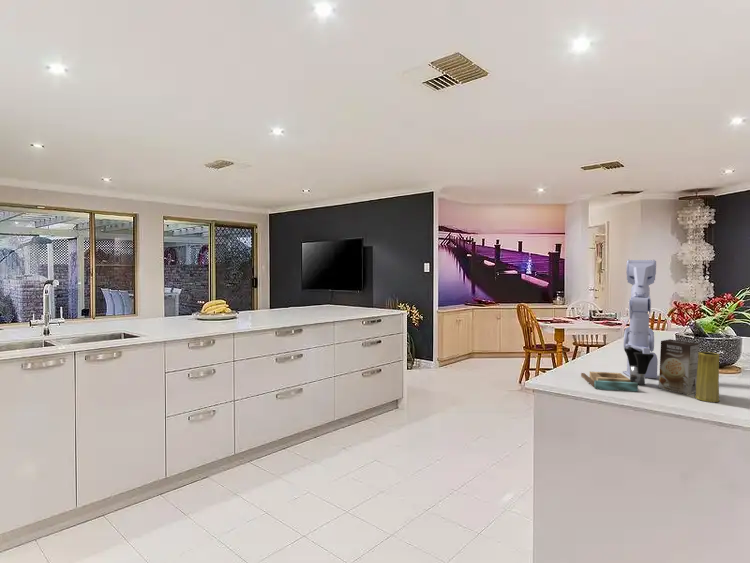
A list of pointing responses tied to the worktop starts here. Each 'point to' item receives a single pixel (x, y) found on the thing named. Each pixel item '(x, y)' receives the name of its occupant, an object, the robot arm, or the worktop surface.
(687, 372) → the coffee box
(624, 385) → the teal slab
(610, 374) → the wooden tray
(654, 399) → the worktop surface
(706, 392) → the vase
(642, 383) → the cylinder
